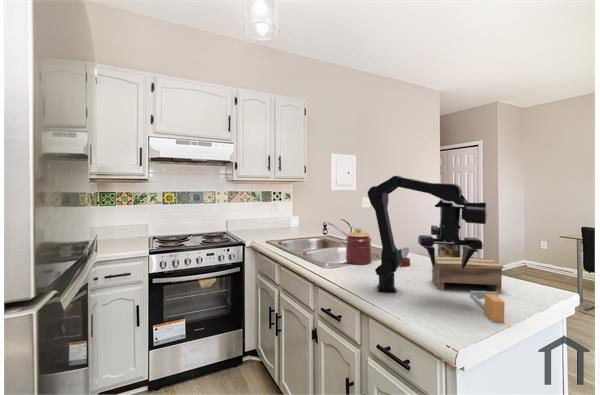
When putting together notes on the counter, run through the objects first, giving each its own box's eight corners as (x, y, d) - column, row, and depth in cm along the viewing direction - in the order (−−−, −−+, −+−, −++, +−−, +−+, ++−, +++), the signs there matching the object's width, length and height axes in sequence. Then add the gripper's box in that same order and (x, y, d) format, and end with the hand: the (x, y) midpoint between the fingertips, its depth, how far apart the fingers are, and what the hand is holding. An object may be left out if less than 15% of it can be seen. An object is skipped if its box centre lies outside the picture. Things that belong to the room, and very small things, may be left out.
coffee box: (460, 271, 136) (460, 236, 136) (460, 275, 131) (460, 238, 130) (438, 268, 141) (438, 234, 140) (437, 272, 135) (437, 237, 134)
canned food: (407, 276, 145) (408, 260, 140) (386, 271, 150) (386, 256, 145) (412, 261, 153) (413, 245, 148) (392, 256, 158) (392, 241, 153)
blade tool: (529, 323, 85) (530, 303, 85) (493, 321, 87) (493, 301, 86) (496, 298, 104) (497, 281, 104) (467, 296, 106) (467, 279, 105)
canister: (348, 257, 163) (348, 225, 162) (373, 259, 158) (373, 226, 158) (343, 263, 151) (343, 229, 150) (369, 266, 146) (369, 230, 146)
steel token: (495, 302, 102) (495, 299, 102) (481, 301, 103) (481, 299, 103) (488, 297, 107) (488, 295, 107) (475, 297, 107) (475, 294, 107)
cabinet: (503, 293, 108) (504, 266, 108) (438, 290, 112) (438, 263, 112) (489, 283, 119) (489, 258, 119) (430, 280, 124) (431, 256, 123)
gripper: (471, 219, 106) (469, 262, 107) (416, 217, 110) (414, 259, 111) (484, 223, 95) (481, 272, 96) (422, 221, 99) (420, 267, 100)
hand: (447, 267), depth 101 cm, fingers open, 9 cm apart
